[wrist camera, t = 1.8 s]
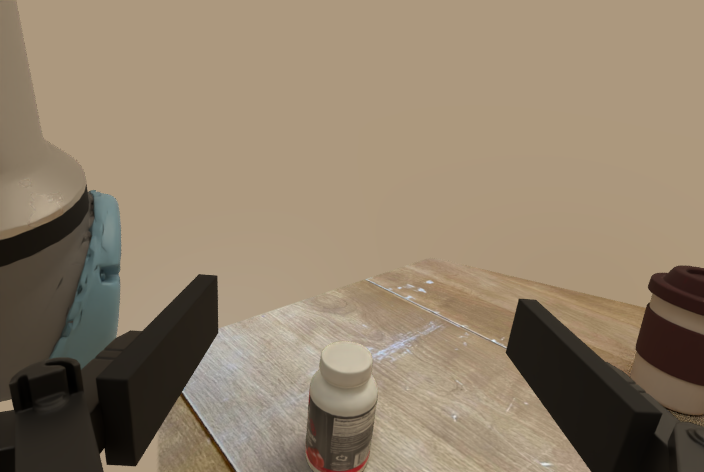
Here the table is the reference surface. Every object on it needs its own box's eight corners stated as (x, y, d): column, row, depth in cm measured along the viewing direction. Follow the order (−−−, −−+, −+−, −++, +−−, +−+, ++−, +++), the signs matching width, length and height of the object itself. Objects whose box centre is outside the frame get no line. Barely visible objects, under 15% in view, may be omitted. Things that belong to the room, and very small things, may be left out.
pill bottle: (297, 437, 32) (304, 340, 29) (354, 423, 34) (365, 331, 31) (315, 494, 27) (324, 385, 24) (379, 474, 29) (395, 371, 26)
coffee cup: (744, 417, 40) (807, 294, 36) (689, 435, 36) (751, 302, 32) (648, 362, 49) (689, 258, 44) (597, 372, 45) (636, 261, 41)
